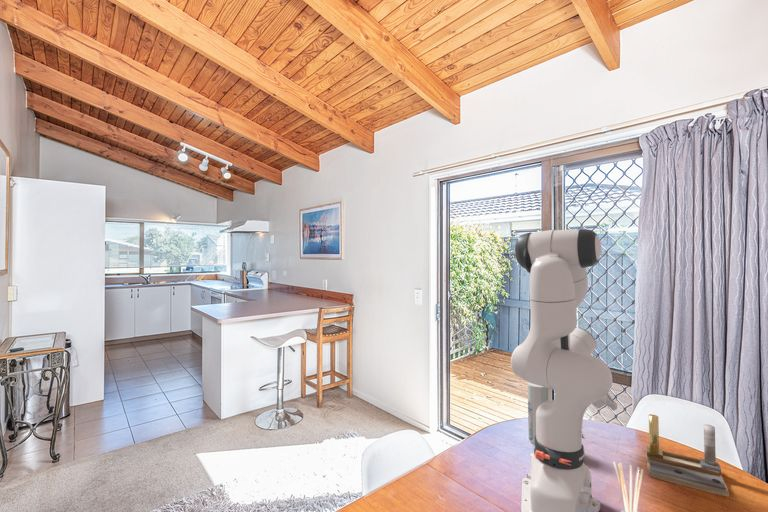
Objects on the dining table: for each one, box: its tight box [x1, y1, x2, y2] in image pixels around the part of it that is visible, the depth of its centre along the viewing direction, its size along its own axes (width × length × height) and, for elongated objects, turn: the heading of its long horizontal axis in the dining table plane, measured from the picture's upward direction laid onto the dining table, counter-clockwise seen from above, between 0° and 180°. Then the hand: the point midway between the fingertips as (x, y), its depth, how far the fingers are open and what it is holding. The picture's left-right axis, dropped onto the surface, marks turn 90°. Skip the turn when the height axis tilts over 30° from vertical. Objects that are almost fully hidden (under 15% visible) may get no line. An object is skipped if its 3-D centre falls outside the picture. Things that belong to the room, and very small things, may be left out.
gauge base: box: [645, 424, 730, 498], centre depth 105 cm, size 14×17×14 cm
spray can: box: [527, 381, 549, 446], centre depth 124 cm, size 6×6×20 cm
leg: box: [645, 414, 663, 458], centre depth 111 cm, size 4×4×12 cm
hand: (615, 408), depth 117 cm, fingers closed
